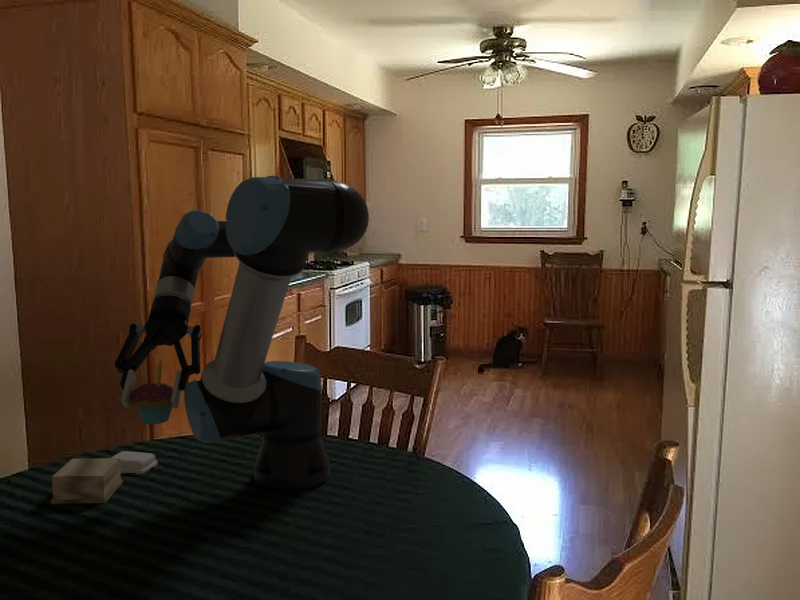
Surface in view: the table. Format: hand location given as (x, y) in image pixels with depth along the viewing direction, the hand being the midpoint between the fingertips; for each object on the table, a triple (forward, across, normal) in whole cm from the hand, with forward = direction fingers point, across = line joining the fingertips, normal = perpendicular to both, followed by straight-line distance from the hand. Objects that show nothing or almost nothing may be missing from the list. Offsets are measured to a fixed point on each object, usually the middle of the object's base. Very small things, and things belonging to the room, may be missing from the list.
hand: (149, 404), depth 124 cm
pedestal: (+11, +12, -14) cm, 22 cm away
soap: (+3, +9, -24) cm, 26 cm away
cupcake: (+1, 0, -6) cm, 6 cm away
